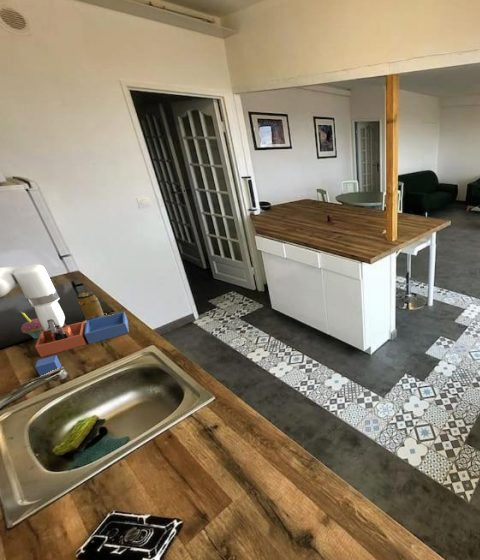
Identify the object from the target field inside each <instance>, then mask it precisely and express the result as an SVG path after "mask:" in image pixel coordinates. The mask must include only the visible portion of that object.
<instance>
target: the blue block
mask: <svg viewBox="0 0 480 560" xmlns="http://www.w3.org/2000/svg"><path fill="white" fill-rule="evenodd" d="M60 367H61V368H62V363H61V362H60V359H59V358H58V355H56V354H54V355H52V356H48V357H43V358H41V359H38V360H37V361H36V363H35V367H34V368H35V370H36V371H37V373H38V375H39V376H41V375H44V374H46V373H48V372H50V371H52V370H55V369H57V368H60Z"/></svg>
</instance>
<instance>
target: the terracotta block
mask: <svg viewBox="0 0 480 560" xmlns="http://www.w3.org/2000/svg"><path fill="white" fill-rule="evenodd" d="M66 326H67V325H66ZM57 330H60V329H57ZM63 331H64V333H66V334H67V336H68V338H69V337H73V336H74V335H73V333H72V331H71V329H70V327H69V326H67V327H63ZM51 336H52V338H53V340H54V341H56V340H55V338H54V336H53V334H51Z"/></svg>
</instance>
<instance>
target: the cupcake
mask: <svg viewBox="0 0 480 560" xmlns="http://www.w3.org/2000/svg"><path fill="white" fill-rule="evenodd" d="M20 313H21V315H22V316H23V317H24V318H25V319H26V321H25V322H24V323H23V324H22V325H21V327H20V331H21V332H22V333H23V334H27V335H29V336H30V337H32V338H33V339H38V338H39V336H40V333H41V332H42V331H44V330H43V327H42V325H41V323H40V321H39V319H38V317H36V318H32V319H31V318H29V317H28V315H26V313H25V312H22V311H20ZM49 330H50V327H49Z"/></svg>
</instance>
